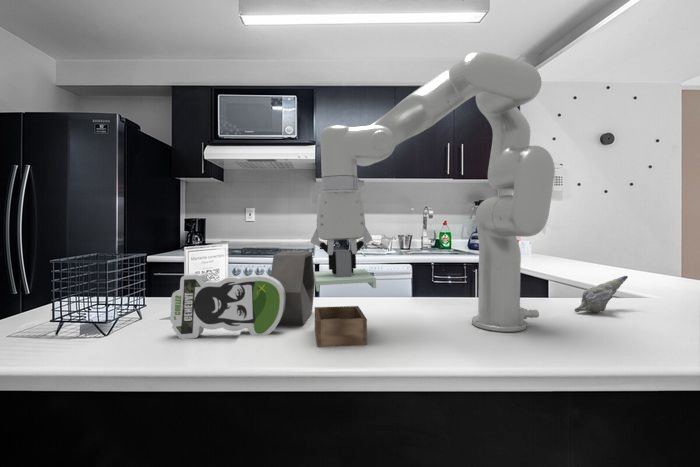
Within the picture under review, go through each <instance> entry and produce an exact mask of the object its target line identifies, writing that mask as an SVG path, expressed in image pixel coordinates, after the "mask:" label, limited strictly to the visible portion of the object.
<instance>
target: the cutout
mask: <svg viewBox="0 0 700 467" xmlns="http://www.w3.org/2000/svg"><path fill="white" fill-rule="evenodd" d="M170 299H171V300H170V315H169V321H170V323H171V324H172V326H171V327H172V329H173V331H174V332H175V334H176V335H177V337H178V338H179V339H181V340H183V339H184V340H185V339H186V340H187V339H189V340H190V339H197V338H198V337H199V336H200V335H202V334H203V333H204V330H205V329H206V330H210V331H211V330H212V331H213V330H218V329H224V330H226V331H230V332H237V331H243V330H245V329H248V333H249V334H250V335H251V336H252V335H253V336H268V335H270V334H271V333H272V332H273V331H274V330H275V328H277V326H279V325H278V323H279V321H280V320H281V318H282V316H283V313H284V310H285V302H286V301H285V300H286V296H285V290H284V288H283V286H282V284H281V283H280V282H279V281H278V280H277V279H275V278H273V277H270V275H266V274H256V275H245V276H238V275H233V276H228V277H226V278H223V279H222V280H220V279H219V280H216V279H214V280H213V279H212V280H209V278H208V277H207V276H206V274H204V273H201V272H200V273H187V274H185V275H182V276H181V277H180V282H179V289H178V290H175V291H173V292H172V295H171V298H170Z"/></svg>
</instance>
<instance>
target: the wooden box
mask: <svg viewBox="0 0 700 467" xmlns="http://www.w3.org/2000/svg"><path fill="white" fill-rule="evenodd" d="M324 319H327V320H324ZM314 333H315V343H316V348H326V347H327V348H329V347H331V348H332V347H334V348H335V347H351V346H353V347H354V346H355V347H357V346H367V345H368V338H367V337H368V318H366V316H365V314H364V312H363V311H362V310H361V307H360V306H359V305H348V306H347V305H346V306H342V305H341V306H315V307H314Z"/></svg>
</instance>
